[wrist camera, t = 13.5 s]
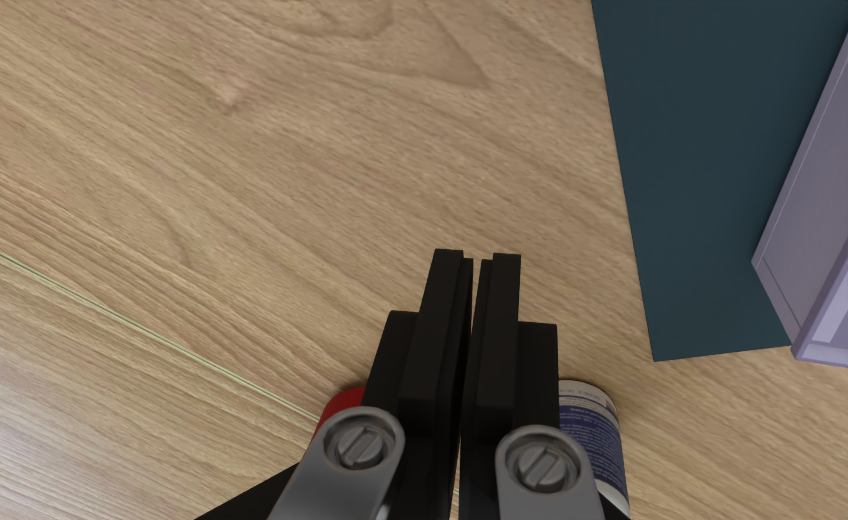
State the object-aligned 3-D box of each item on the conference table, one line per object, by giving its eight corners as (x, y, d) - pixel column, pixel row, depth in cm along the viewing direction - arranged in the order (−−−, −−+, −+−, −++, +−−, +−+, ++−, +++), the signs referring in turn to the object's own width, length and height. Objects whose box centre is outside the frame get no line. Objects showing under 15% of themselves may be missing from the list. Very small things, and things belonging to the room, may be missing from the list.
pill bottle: (523, 370, 34) (516, 529, 26) (625, 382, 34) (650, 549, 26) (514, 438, 37) (504, 601, 29) (607, 451, 37) (624, 621, 29)
